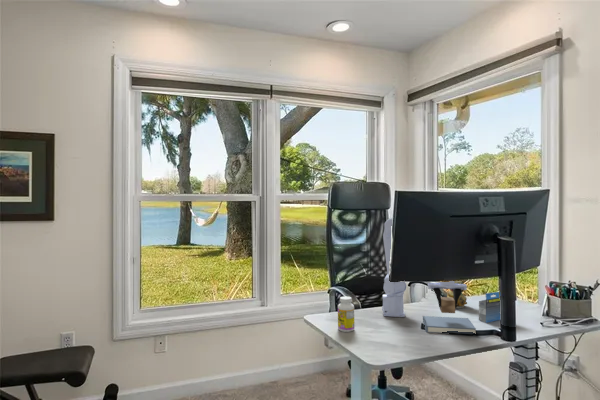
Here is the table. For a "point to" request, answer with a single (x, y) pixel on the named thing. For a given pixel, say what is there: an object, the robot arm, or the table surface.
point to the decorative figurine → (461, 299)
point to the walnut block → (447, 305)
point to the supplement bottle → (346, 314)
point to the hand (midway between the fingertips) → (447, 307)
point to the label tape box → (489, 308)
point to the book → (447, 324)
